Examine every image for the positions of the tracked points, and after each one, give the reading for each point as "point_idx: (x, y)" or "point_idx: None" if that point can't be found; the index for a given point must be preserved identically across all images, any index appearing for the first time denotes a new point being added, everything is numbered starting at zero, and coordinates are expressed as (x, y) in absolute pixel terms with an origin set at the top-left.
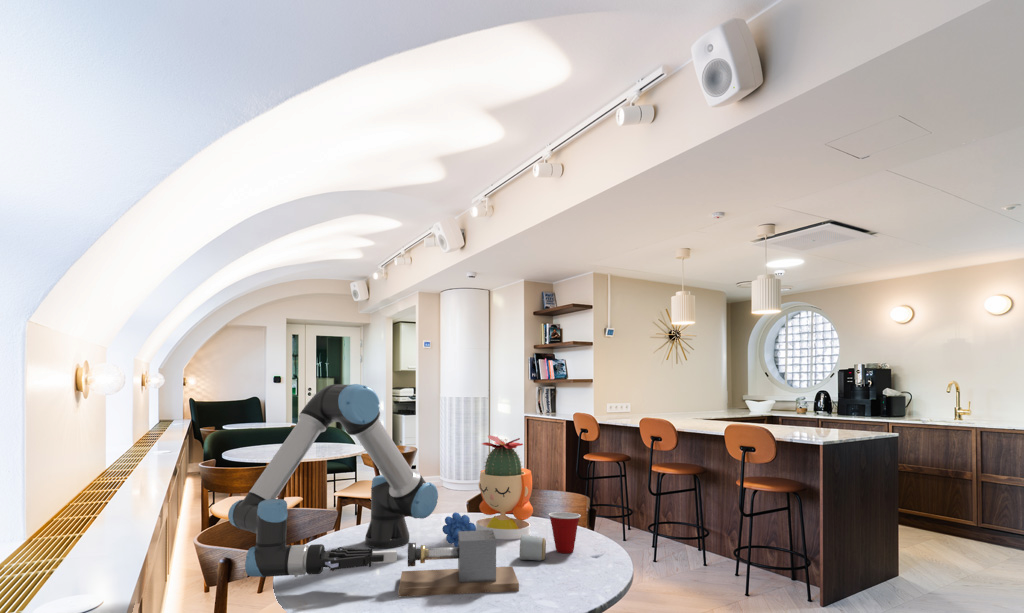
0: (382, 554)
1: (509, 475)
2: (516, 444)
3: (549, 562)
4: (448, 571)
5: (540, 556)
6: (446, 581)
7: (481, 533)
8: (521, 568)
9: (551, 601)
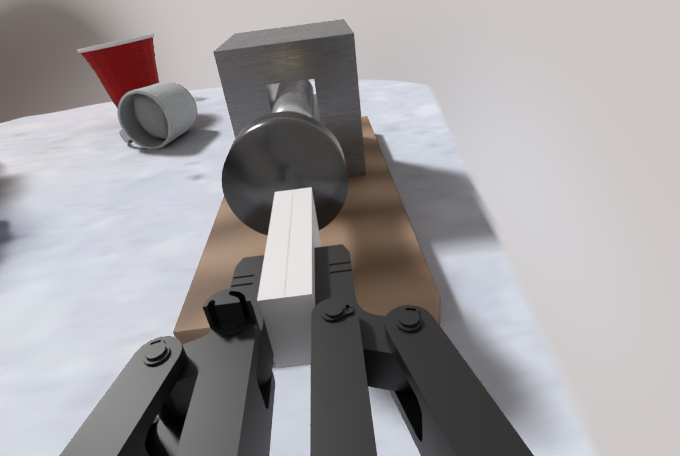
0: (313, 251)
1: None
2: None
3: (202, 124)
4: None
5: (195, 116)
6: (347, 196)
7: (265, 34)
8: (221, 143)
9: (423, 107)
